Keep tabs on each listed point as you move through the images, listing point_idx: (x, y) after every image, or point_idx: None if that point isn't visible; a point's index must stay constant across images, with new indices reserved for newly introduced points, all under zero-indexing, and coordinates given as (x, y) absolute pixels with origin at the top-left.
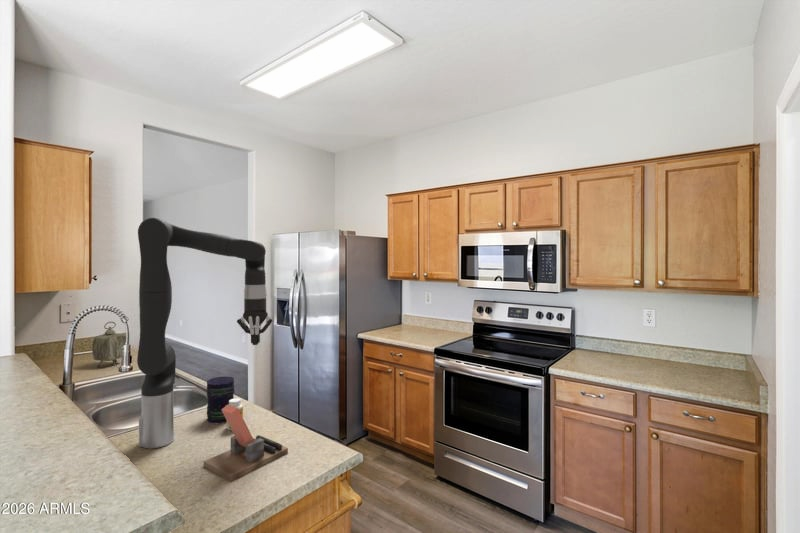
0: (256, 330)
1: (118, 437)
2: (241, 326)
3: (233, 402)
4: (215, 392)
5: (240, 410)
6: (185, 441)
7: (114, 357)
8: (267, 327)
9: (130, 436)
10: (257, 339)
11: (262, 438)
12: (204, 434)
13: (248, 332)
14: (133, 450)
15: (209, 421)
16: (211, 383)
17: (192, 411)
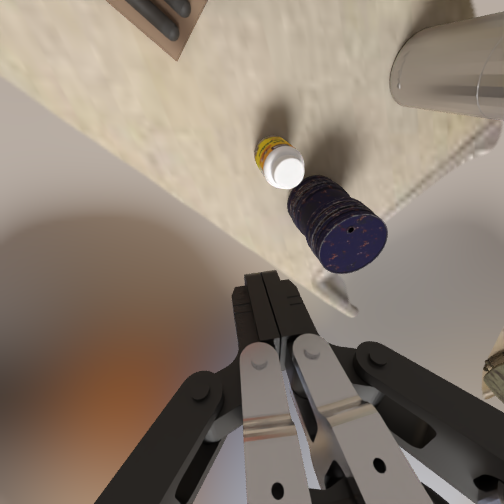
0: (272, 391)
1: None
2: (491, 413)
3: (289, 158)
4: (351, 203)
5: (265, 157)
6: (363, 73)
7: (497, 370)
8: (127, 474)
9: None
10: (247, 311)
11: (147, 2)
12: (328, 115)
13: (355, 353)
14: None
15: (331, 180)
16: (374, 222)
17: None
